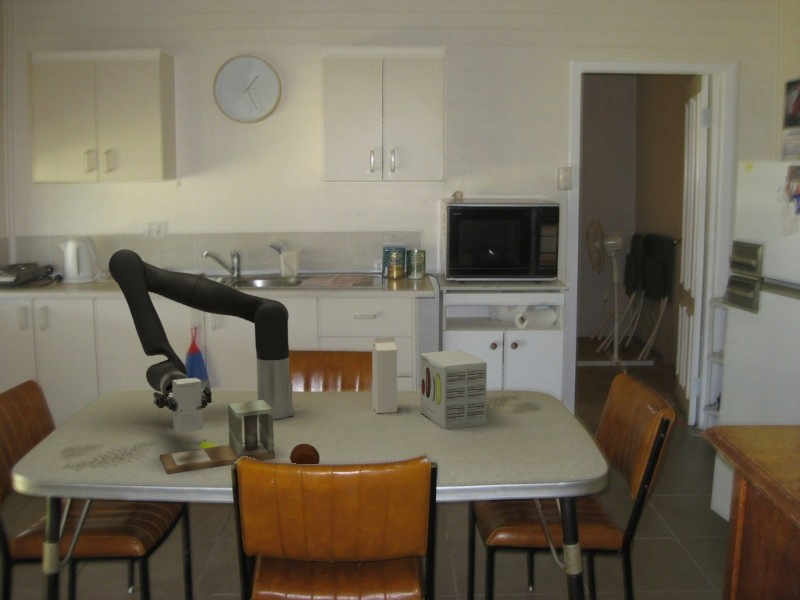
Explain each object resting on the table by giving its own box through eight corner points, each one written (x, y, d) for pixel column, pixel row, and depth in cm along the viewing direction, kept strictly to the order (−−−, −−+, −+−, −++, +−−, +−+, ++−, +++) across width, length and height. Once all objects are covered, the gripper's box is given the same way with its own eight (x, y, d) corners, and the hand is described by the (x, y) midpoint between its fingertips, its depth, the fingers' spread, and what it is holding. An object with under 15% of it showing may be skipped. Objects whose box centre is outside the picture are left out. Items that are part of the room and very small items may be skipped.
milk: (397, 412, 242) (397, 338, 238) (377, 414, 240) (377, 340, 237) (391, 406, 247) (391, 334, 244) (372, 408, 246) (372, 335, 242)
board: (263, 444, 213) (261, 398, 211) (275, 457, 203) (274, 409, 201) (159, 459, 202) (157, 411, 201) (167, 473, 193) (164, 423, 191)
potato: (289, 477, 190) (288, 450, 189) (290, 463, 199) (290, 437, 198) (319, 476, 191) (319, 449, 190) (319, 462, 200) (319, 437, 199)
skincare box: (178, 433, 195) (177, 384, 193) (172, 428, 199) (170, 380, 197) (203, 429, 199) (202, 380, 197) (197, 424, 202) (195, 376, 200)
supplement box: (419, 413, 241) (419, 353, 238) (460, 408, 246) (460, 349, 243) (443, 430, 225) (444, 365, 222) (487, 425, 230) (488, 361, 227)
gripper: (147, 376, 207) (157, 393, 192) (204, 371, 213) (219, 387, 198) (148, 405, 208) (158, 424, 193) (205, 399, 214) (220, 417, 199)
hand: (189, 405), depth 196 cm, fingers closed on skincare box, 6 cm apart
